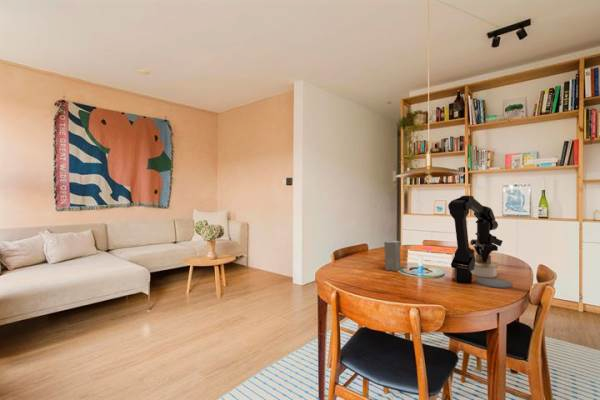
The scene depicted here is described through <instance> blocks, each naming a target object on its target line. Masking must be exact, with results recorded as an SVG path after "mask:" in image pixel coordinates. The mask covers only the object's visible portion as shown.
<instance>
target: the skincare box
mask: <svg viewBox="0 0 600 400" xmlns="http://www.w3.org/2000/svg"><path fill="white" fill-rule="evenodd" d="M383 244H384V265H385V266H384V269H385V271H386V270H387V271H393V272H397V271H399V270H400V269H401V268H402V265H401V263H402V262H401V241H400V240H386V241H384V243H383Z"/></svg>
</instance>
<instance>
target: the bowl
mask: <svg viewBox="0 0 600 400" xmlns="http://www.w3.org/2000/svg"><path fill="white" fill-rule="evenodd" d="M497 268H498V267H496V268H483V267H477V266H474V270H471V273H472V276H477V277H491V278H496V277H498V269H497Z"/></svg>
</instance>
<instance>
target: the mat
mask: <svg viewBox="0 0 600 400" xmlns="http://www.w3.org/2000/svg"><path fill="white" fill-rule="evenodd" d="M474 283H475V284H478V285H480V286H484V287H488V288H492V289H493V288H494V289H510V288H511V289H512V287H513V283H512V282H511V281H509V280H506V279H502V278H497V277H480V276H477V277H475V278H474Z"/></svg>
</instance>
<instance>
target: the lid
mask: <svg viewBox="0 0 600 400" xmlns="http://www.w3.org/2000/svg"><path fill="white" fill-rule="evenodd" d="M475 266H477V267H483V268H496V267H497V268H498V267H499V263H498V262H494V261H492V256H491V255H490V254H489V256H488V259H487V261H486V262H483V259H482V256H481V255H478V254H475Z"/></svg>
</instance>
